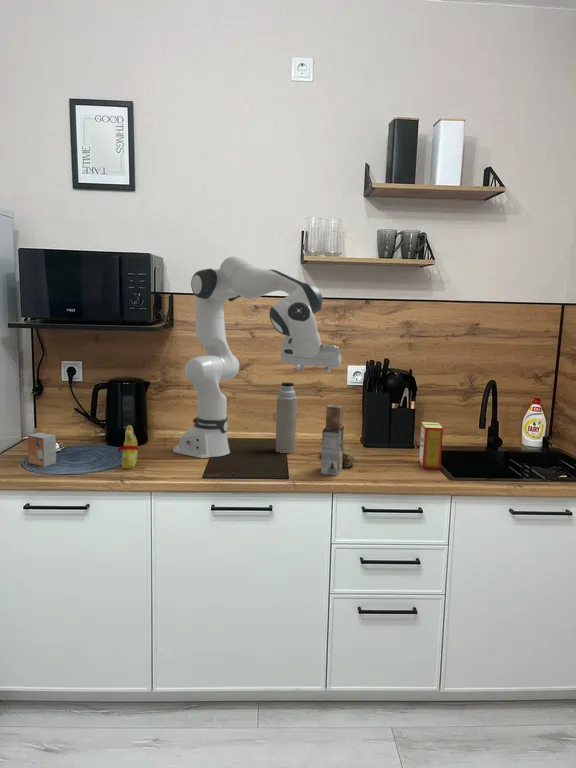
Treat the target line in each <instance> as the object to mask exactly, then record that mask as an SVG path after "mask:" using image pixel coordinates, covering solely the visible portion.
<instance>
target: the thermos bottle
mask: <svg viewBox="0 0 576 768" xmlns="http://www.w3.org/2000/svg"><path fill="white" fill-rule="evenodd" d="M280 385H281V387H280V388H281V389H280V390H279V391H278V395H277V396H276V418H275V419H276V420H275V422H276V424H275V452H276V451H277V452H276V453H278V452H280V453H279V454H282V453H290V454H293V453H296V437H297V435H296V432H297V431H296V429H297V410H298V408H297V405H298V397H297V396H296V395H297V394H296V391H295V390H294V386H295V384H294V383H293V382H281V384H280Z"/></svg>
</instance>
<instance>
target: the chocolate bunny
mask: <svg viewBox="0 0 576 768" xmlns="http://www.w3.org/2000/svg"><path fill="white" fill-rule="evenodd" d="M124 434H125V436H124V441H123V446H121V445H120V446H119V447H118V448H117V453H116V454H119V453H120V452H121V451H122V457H121V468H122V469H123V470H124V469H125V470H131V469H132V470H133V469H134V468H135V465H136V464H137V462H138V450H139V446H138V440H137V437H136V434H135V430H134V427H133V426H132V425H130V424H128V425H127V426H126V428H125V432H124Z"/></svg>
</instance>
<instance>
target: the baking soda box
mask: <svg viewBox="0 0 576 768" xmlns="http://www.w3.org/2000/svg"><path fill="white" fill-rule="evenodd" d="M443 433H444V428H443V426H442V425H441V423H439V422H433V421H432V422H430V421H421V422H420V437H419V438H420V439H419V451H418V452H419V453H418V462H419V464H420V466H421V468H422V469H437V470H440V469H441V464H442V463H441V462H442V448H443Z"/></svg>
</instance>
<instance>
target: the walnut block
mask: <svg viewBox="0 0 576 768" xmlns="http://www.w3.org/2000/svg"><path fill="white" fill-rule="evenodd" d="M325 416H326V417H325V427H326V429H335V430H340V429H341V428H342V426H343V421H344V404H343V405H341V404H333V403H330V404H328V405H326V412H325Z"/></svg>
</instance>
